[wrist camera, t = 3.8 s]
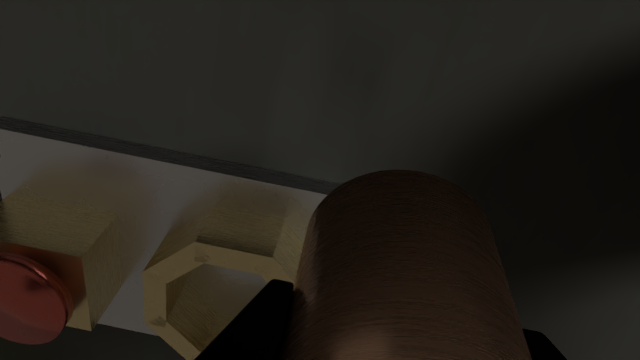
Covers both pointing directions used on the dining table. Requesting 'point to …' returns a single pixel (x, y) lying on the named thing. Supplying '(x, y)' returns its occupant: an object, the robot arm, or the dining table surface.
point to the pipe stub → (401, 277)
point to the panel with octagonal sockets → (138, 236)
